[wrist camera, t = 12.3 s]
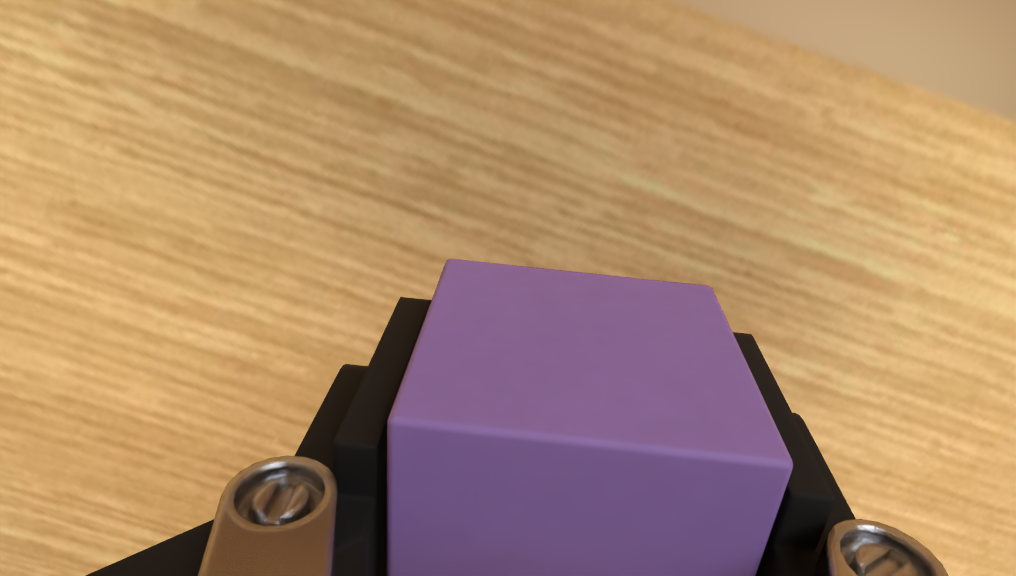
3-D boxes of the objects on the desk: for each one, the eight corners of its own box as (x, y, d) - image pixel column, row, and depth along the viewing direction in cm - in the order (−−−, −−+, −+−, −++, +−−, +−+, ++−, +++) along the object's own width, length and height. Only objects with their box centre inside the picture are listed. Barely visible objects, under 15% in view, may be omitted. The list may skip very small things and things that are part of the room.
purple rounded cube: (435, 463, 13) (383, 680, 9) (445, 255, 11) (384, 418, 7) (662, 488, 13) (708, 718, 9) (712, 284, 11) (797, 464, 7)
